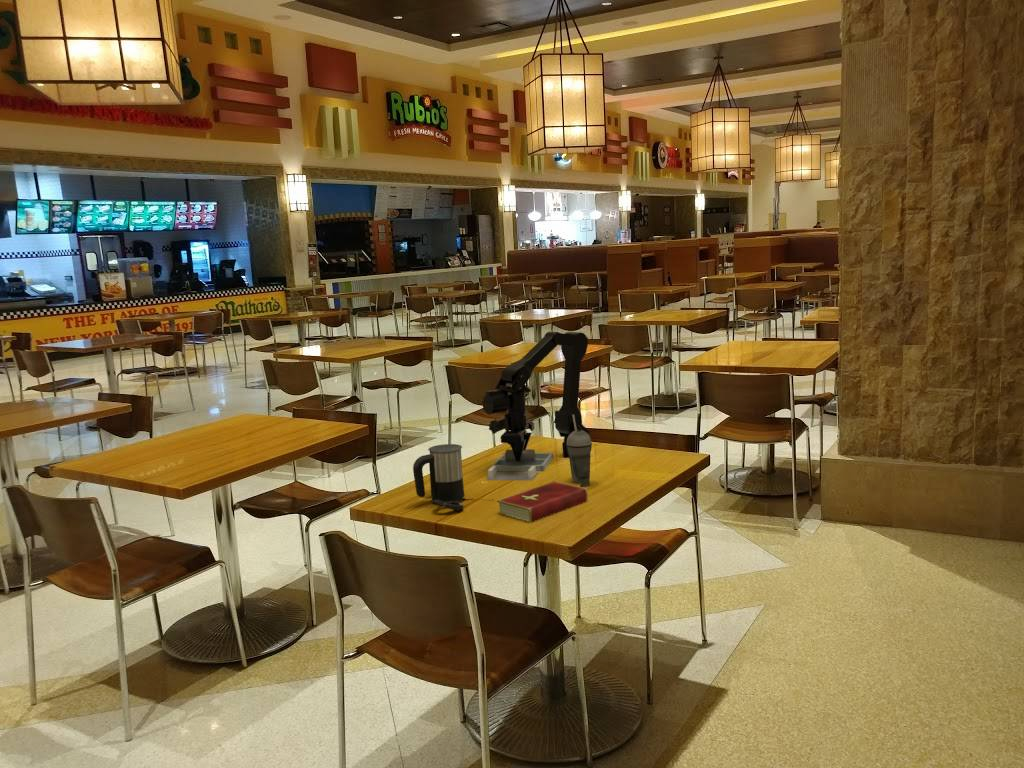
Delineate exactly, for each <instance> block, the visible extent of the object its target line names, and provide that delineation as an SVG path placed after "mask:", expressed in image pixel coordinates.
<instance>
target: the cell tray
mask: <svg viewBox="0 0 1024 768" xmlns="http://www.w3.org/2000/svg"><path fill="white" fill-rule="evenodd" d="M504 453H505V452H503V453H502V454H501V455H500V456H499V457H498V458H497V459H496V460H495V461H494V462H493V463H492V464H491V465H490V468H491V467H492V466H496V470H497V472H528V470H529V469H530V468H531V466H536V472H544V471H545V469H546V468H547V467H548V466H549V464H550V463H551V462H552V460H553V459H554V453H553V452H535V462H534V463H507V462H506V460H505V459H504Z"/></svg>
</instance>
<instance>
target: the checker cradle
mask: <svg viewBox="0 0 1024 768" xmlns="http://www.w3.org/2000/svg"><path fill="white" fill-rule="evenodd" d="M538 474H539V472H537V471H536V466H531V468H530V469H529V470H528V471H527V472H506V471H497V470H496V466H492V467H491V466H490V468H488V469H487V476H488V477H487V478H486V479H485V480H486V481H534V479H535V478H536V477H537V476H538Z"/></svg>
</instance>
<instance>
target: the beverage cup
mask: <svg viewBox="0 0 1024 768" xmlns="http://www.w3.org/2000/svg"><path fill="white" fill-rule="evenodd" d="M572 416H573V422H574V428H575V431H573V432H572V433H570V435H569V436H568V438H567V444H566V446H567V450H568V453H569V458H568V460H569V466H570V473H571V480H572V483H574V484H579V487H580V486H584V487H587V485H588V486H589V485H590V479H591V476H590V475H591V455H592V454H591V453H592V446H593V443H592V439H591V437H590V434H589V435H588V434H587V433H586V432H585V431H583V430H577V428H576V423H575V417H574V415H572Z"/></svg>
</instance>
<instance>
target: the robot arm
mask: <svg viewBox="0 0 1024 768" xmlns="http://www.w3.org/2000/svg"><path fill="white" fill-rule="evenodd" d="M588 345H589V339H588V336H587V335H586V334H585V333H584V332H576V331H567V332H564V333H562V332H558V331H550V330H549V331H547V332H546V333H545V334H544V336H543V337H542V338H541V339H540V340H539V341H538V342H537V343H536V344H535V345H533V347H531V349H530V350H528V352H527V353H526V354H525V355H524V356H522V357H521V359H519V360H517V361H514V362H511V363H510V364H509V365H507V366H506V367H505V368H503V370H502V371H501V376H500V379H499V380H498V381H497V384H496V386H495V389H494V390H487V391H485V395H484V396H483V400H482V403H481V405H482V408H483V410H484V412H485V413H486V414H487V415H492V414H499V413H504V412H506V413H505V414H504V416H503V417H501V418H499V419H497V418H494V419H493V420H491V421H490V422H489V424H488V427H489V428H488V430H489V431H491V433H492V435H495V434H497V433H499V432H501V431H503V430H505V431H504V432H503V433H502V434H501V435H500V443H501V444H508V445H509V446H510V448H511V449H512V450H513V453H514V456H515V459H516V461H520V459H521V456H522V452H523V449H528V444H529V442H530V440H531V436H532V434H533V432H534V430H535V423H534V421H533V420H527V419H528V418H527V415H528V413H529V410H528V409H527V407H526V393H531V391H532V390H531V388H529V387H528V386H527V385H526V384H527V382H528V381H529V380H530V378H531V377H532V374H533V371H534V370H535V368H537V366H538V365H539V364H540V363H541V362H542V361H544V359H545V358H546V357H547V356H548V355H550V353H551V352H552V351H554V349H555V348H556V347H558V346H560V347H561V348H560V349H561V350H560V351H561V353H562V355H563V358H564V374H563V387H562V388H563V391H562V401H561V404H562V405H561V407H560V408H559V410H555V411H554V421H553V424H554V427H555V429H556V430H557V432H558V434H559V436H560V437H561V438H563V442H562V445H561V446H562V456H563V458H564V459H566V458H567V459H569V453H568V450H567V446H566V444H567V438H568V436H569V435H570V433H572V432H573V431H575V428H574V422H573V416H572V415H574V417H575V423H576V428H577V430H583V431H585V432H586V433H587V434H588V435H589V436H590V430H588V428H586V426H584V424H583V416H582V413H581V411H580V409H579V395H580V393H579V392H580V380H581V378H580V377H581V369H582V368H581V366H582V360H583V359H584V357H585V356H586V354H587V350H588ZM527 430H530V431H531V432H528V431H527Z"/></svg>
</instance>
